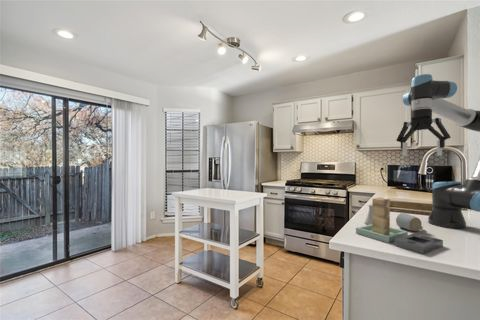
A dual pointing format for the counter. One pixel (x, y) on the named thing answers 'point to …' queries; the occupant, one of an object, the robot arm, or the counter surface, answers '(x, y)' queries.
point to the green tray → (385, 238)
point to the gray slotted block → (418, 243)
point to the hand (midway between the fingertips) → (421, 155)
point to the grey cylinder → (408, 222)
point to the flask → (369, 216)
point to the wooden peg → (381, 216)
